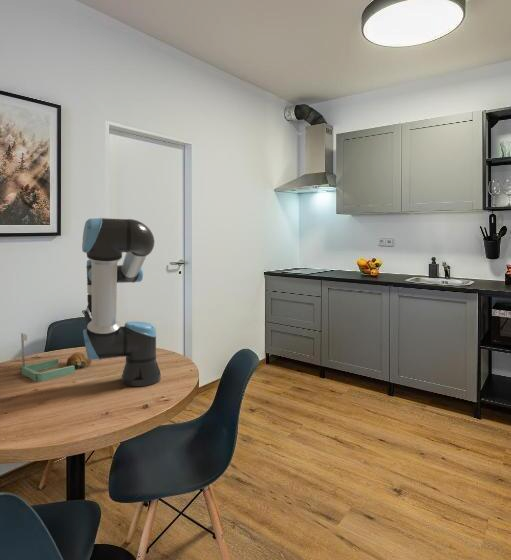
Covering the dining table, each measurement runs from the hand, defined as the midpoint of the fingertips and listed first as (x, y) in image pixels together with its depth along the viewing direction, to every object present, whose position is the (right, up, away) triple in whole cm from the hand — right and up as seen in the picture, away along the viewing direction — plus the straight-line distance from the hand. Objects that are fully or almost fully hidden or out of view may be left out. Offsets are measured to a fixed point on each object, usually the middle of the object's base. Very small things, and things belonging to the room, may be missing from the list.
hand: (97, 344), depth 190 cm
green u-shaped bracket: (-14, -9, -16) cm, 23 cm away
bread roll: (-6, -9, -7) cm, 12 cm away
